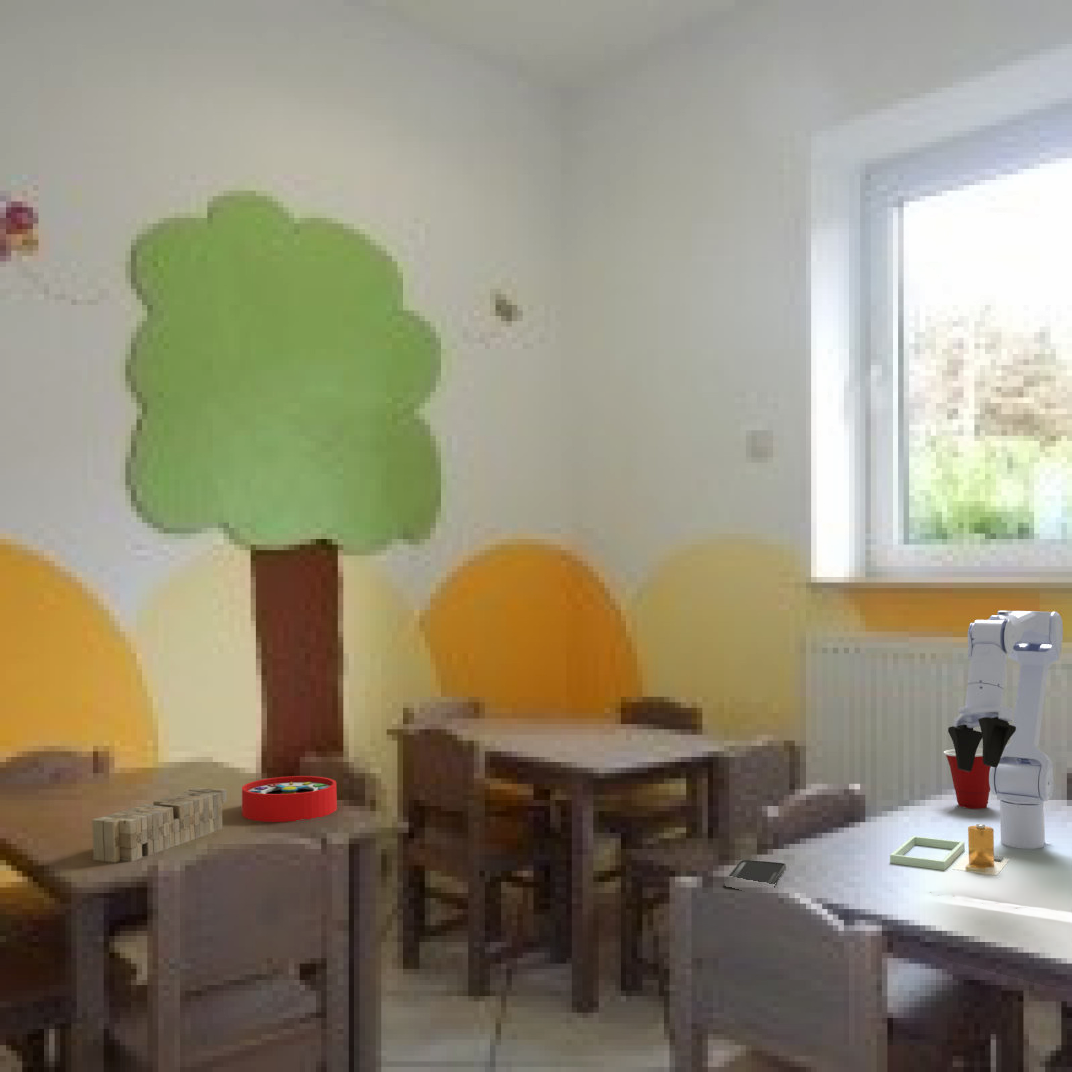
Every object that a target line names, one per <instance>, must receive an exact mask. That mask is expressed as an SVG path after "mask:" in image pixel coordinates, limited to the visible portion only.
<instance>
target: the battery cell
mask: <svg viewBox="0 0 1072 1072" xmlns="http://www.w3.org/2000/svg"><path fill="white" fill-rule="evenodd" d="M994 831H995V830H994V828H993V827H991V826H986V824H983V823H976V825H970V826H968V827H967V833H968V834H967V835H968V837H967V839H968V841H967V842H968V843H967V844H968V854H969V864H970V865H977V866H985V867H993V866H994V855H995V841H994V840H995V836H994V833H995V832H994Z"/></svg>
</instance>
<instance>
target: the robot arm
mask: <svg viewBox="0 0 1072 1072" xmlns="http://www.w3.org/2000/svg"><path fill="white" fill-rule="evenodd" d="M1063 627H1064V625H1063V619H1062V616H1061V615H1060V614H1059V612H1058V611H1052V612H1051V611H1035V610H1031V611H1030V610H1027V611H1026V610H998V611H997V615H993V614H992V615H991V616H990V617H989V618H988V619H976V620H974V622H971V623H970V624H969V626H968V630H967V646H968V647H967V648H968V649H967V650H968V651H967V658H968V660H969V668H968V677H967V685H966V686H967V688H966V695H965V703H964V704H965V706H962V707H959V708H958V711H957V712H958V713H959V715H957V717H954V718H953V724H952V725H953V726H949V727H948V729H947V732H948V734H949V736H950V738H951V742H952V745H953V747H954V748H953V749H955V753H956V760H957V767H958V769H960V770H963V771H967V772H971V770H972V767H973V764H974V759H975V754H976V750H977V748H978V747H979V745H980V743H981V741H982V748H983V764H984V765H987V766H991V768H990V772H989V785H990V792H992V794H993V795H994V796H996V799H997V801H999V813H1000V815H999V817H1000V822H999V823H1000V843H1001V844H1002V845H1004V846H1007V847H1010V848H1011V847H1012V848H1016V849H1017V848H1018V849H1028V850H1029V849H1031V850H1032V849H1040V848H1043V847H1045V844H1047V845H1051V843H1052V842H1048V841H1046V839H1045V838H1046V836H1045V809H1044V802H1047V801H1048V800H1049V799H1051V797H1052V795H1053V791H1054V774H1053V773H1054V765H1053V763H1052V760H1051V758H1050V756H1048V755H1047V754H1046V753H1045V752H1043V750H1041V749H1040V748H1039V747H1040V746H1039V745H1040V738H1041V729H1042V728H1041V727H1042V722H1043V721H1042V720H1043V712H1044V704H1045V695H1046V689H1047V688H1046V687H1047V679H1048V674H1049V670H1050V666H1051V665H1052V664H1053V663H1055V662H1057V661H1059V660H1060V657H1061V655H1060V654H1061V653H1062V645H1063V637H1064V630H1063V629H1064V628H1063ZM1008 658H1009V659H1011V660H1013V661H1014V662H1016V663H1018V665H1019V668H1020V669H1019V674H1018V675H1019V676H1018V683H1017V691H1016V700H1015V707H1014V708H1010V707H1007V706H1004V705H1003V701H1004V693H1005V681H1006V672H1007V671H1006V670H1007V663H1008V662H1007V661H1008ZM1010 722H1012V724H1010ZM977 727H978V728H979V727H980V730H981V731H978V730H975V729H974V728H977ZM1009 741H1010V742H1009ZM1008 743H1009V744H1008Z"/></svg>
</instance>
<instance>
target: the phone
mask: <svg viewBox="0 0 1072 1072" xmlns="http://www.w3.org/2000/svg"><path fill="white" fill-rule="evenodd" d="M786 870H787V865H786V863H784V862H775V861H765V860H763V861H762V860H752V859H742V860H740V861H739V862H738V864H737V865H736V866H735V867H734V868H733V870H732V871H731V873H730V874H729V875H728V876H733V877H737V878H743V879H746V880H753V881H758V882H767V883H769V884H775V883H777V882H778V883H779V881H780V879H781V878H782V877H783V875H784V874H785V872H786ZM784 871H785V872H784ZM782 874H783V875H782ZM780 877H781V878H780ZM779 878H780V879H779ZM778 880H779V881H778ZM778 883H777V884H778Z"/></svg>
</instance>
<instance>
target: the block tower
mask: <svg viewBox="0 0 1072 1072" xmlns="http://www.w3.org/2000/svg"><path fill="white" fill-rule="evenodd" d="M227 801H228V799H227V788H212V787H195V788H193V787H192V788H190V789H188V790H186V791H183V792H181V793H177V794H174V795H170V796H166V797H164V798H161V799H157V800H153V803H152V804H153V805H152V804H141V805H138V806H136V807H131V808H129V809H126V810H119V811H117V812H114V813H111V814H108V815H105V816H102V817H96V818H93V819H91V821H92V822H91V825H92V826H91V827H92V847H93V848H92V851H93V860H94V861H100V862H104V861H105V862H111V863H117V862H119V861H120V862H121V861H125V862H126V861H127V862H133V861H136V860H139V859H142V858H143V856H151V855H153V854H157V853H159V852H161V851H164V850H167V849H169V848H170V849H171V848H173V847H176V846H179V845H182V844H185V843H187V842H190V841H192V840H196V839H198V838H200V837H203V836H207V835H209V834H212V833H214V832H216V831H220V830H222V829H223V803H225V802H227Z"/></svg>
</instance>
